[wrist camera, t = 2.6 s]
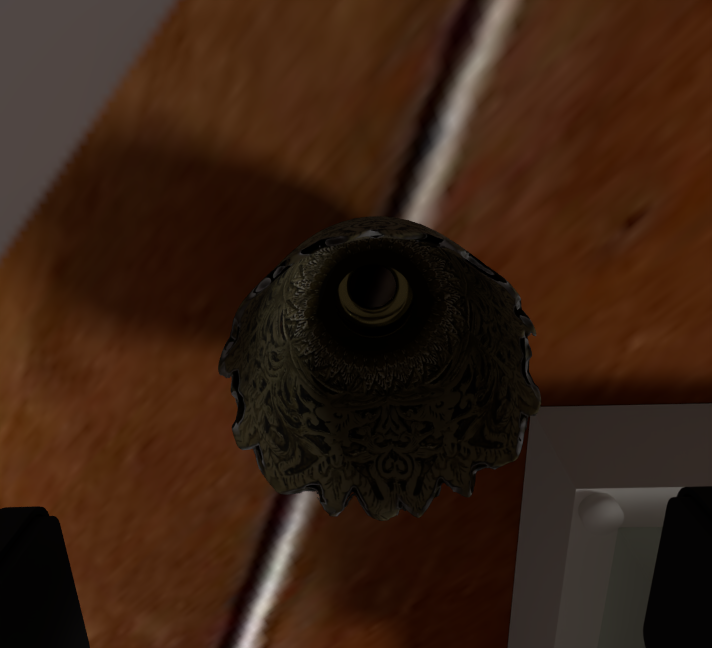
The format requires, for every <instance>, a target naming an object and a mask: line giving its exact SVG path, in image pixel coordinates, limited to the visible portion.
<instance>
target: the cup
mask: <svg viewBox="0 0 712 648" xmlns="http://www.w3.org/2000/svg"><path fill="white" fill-rule="evenodd" d="M371 264H377V265H381V266H383V267H385V268H387V269H388V270H389V271H390V272H391V273H392V274H393V276H394V278H395V281H396V292H395V294H394V297H393V298H392V299H391V301H390V302H389V303H387V304H386V305H384V306H382V307H379V308H366V307H363V306H361V305H360V304H358V303H357V302H356V301H355V300H354V298H353V297H352V295H351V292H350V281H351V278H352V276H353V275H354V273H355V272H356V271H357V270H358V269H360V268H361V267H363V266H366V265H371ZM530 333H532V334H533V336H536V331H535V328H534V326H533V324H532V322H531V320H530V318H529V317H528V316H527V315H526V313H525V312H524V311H523V310H522V308H521V298H520V296H519V294H518V293H517V292H516V291H515V289H514V288H513V287H512V286H511V284H510V283H509V282H508V281H506V280H505V279H504V278H503V277H502V276H501V275H499V274H498V273H496V272H495V271H494V270H492V269H491V268H489V267H488V266H486V265H485V264H484V263H482V262H481V261H480V260H478V259H477V258H476V257H474V256H473V255H472V254H470V253H469V252H468V251H466V250H465V249H463V248H462V247H461V246H459V245H458V244H456V243H455V242H453V241H452V240H450V239H448V238H447V237H445V236H443V235H442V234H440V233H438V232H437V231H434V230H432V229H430V228H428V227H426V226H423V225H421V224H418V223H415V222H412V221H409V220H404V219H399V218H394V217H382V216H376V217H362V218H355V219H351V220H347V221H344V222H340V223H338V224H335V225H333V226H330V227H328V228H326V229H324V230H322V231H320V232H318V233H316V234H315V235H313V236H312V237H310V238H309V239H307V240H306V241H304V242H303V243H302V244H300V245H299V246H298V247H297V248H296V249H295V250H293V251H292V252H291V253H290V254H289V255H288V256H287V257H286V258H285V259H284V260H282V261H281V262H280V263H279V264H278V265H277V267H276V268H275V269H274V270H273V271H271V272H270V273H269V274H268V275H267V276H266V277H265V278H264V279H263V280H262V281H261V282H260V283H259V284H258V285H257V286H256V287H255V288H254V289H253V290H252V291H251V292H250V294H249V295H248V296H247V297H246V298H245V299H244V301H243V302H242V303H241V305H240V306H239V308H238V310H237V312H236V315H235V317H234V320H233V325H232V331H231V334H230V338H229V339H228V341H227V342H226V344H225V346H224V349H223V351H222V354H221V357H220V360H219V366H218V371H219V374H220V375H223V376H225V377H226V378H227V377H228V378H230V376H231V377H232V383H231V393H232V395H233V396H234V397H235V398H236V403H237V406H238V411H237V416H236V420H235V422H234V424H233V425H232V431H233V434H234V438H235V441H236V444H237V446H238V447H239V448H240V449H242V450H247V449H252V448H253V450H254V453H255V455H256V460H257V464H258V466H259V469H260V470H261V472H262V474H263V475H264V477H265V478H266V480H267V481H268V482H269V483H270V485H271V486H272V487H273V488H274V489H275V491H277V492H278V493H280V494H296V493H301V492H303V491H316V492H317V491H318V492H317V494H318V493H319V496H320V500H319V501H320V503H321V504H322V506H323V508H324V510H325V511H326V512H328V513H329V515H330V516H338V515H339V514H340V512H341V511H343V510H344V508H345V507H346V506H347V505H348V502H349V501H350V500H351V498H352V496H354V495H356V497H357V499H358V501H359V503H360V504H361V506H362V508H363V509H364V510H365V512H366V513H367V515H369V516H370V517H372V518H374V519H377V520H380V521H384V520H389V519H390V518H391V517H394V516H396V515H398V513H399V510H400V509H403V510H404V511H406V510H407V511H408V512H410V513H411V514H412V515H413V516H415V517H417V518H419V517H421V516H422V515H423V514H424V512H425V511H426V510H427V509H428V507H429V505H430V504H431V502H432V500H433V498H435V497H437V496H439V494H440V491H441V485H442V483H445V484H446V485H447V486H449V487H450V488H451V489H452V490H453V492H457V493H459V494H461V495H462V496H464V497H470V496H471V495H472V493H473V489H474V485H475V475H476V472H477V471H479V470H481V469H483V468H492V469H497V468H499V467H501V466H503V465H505V464H507V463H510V462H513V461H515V460H516V459H517V458H518V456H519V454H520V452H521V449H522V444H523V438H524V432H525V430H526V428H527V421H528V417H530V416H536V414H537V413H538V411H539V408H540V405H541V396H540V391H539V388H538V386H536V385H535V383H534V382H533V379H532V377H531V375H530V373H529V359H530V358H531V357H532V352H531V348H530V346H529V344H528V338H527V336H529V335H530ZM352 492H354V494H352V495H351V496H350V494H351V493H352ZM349 496H350V497H349ZM348 497H349V498H348ZM317 498H318V497H317ZM347 498H348V500H347ZM318 499H319V498H318ZM346 500H347V501H346ZM345 502H346V503H345Z"/></svg>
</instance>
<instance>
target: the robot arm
mask: <svg viewBox="0 0 712 648" xmlns="http://www.w3.org/2000/svg"><path fill="white" fill-rule="evenodd" d="M643 639H644V643H645V647H646V648H712V486H697V487H684V488H681V489H680V491H679V492H678V494H677V497H672V498H670V499H669V501H668V503H667V507H666V512H665V517H664V522H663V527H662V532H661V538H660V543H659V548H658V553H657V558H656V563H655V568H654V573H653V579H652V584H651V589H650V594H649V599H648V604H647V609H646V614H645V620H644V625H643ZM0 648H90V646H89V641H88V637H87V633H86V629H85V624H84V620H83V616H82V612H81V608H80V604H79V600H78V596H77V592H76V588H75V583H74V579H73V575H72V571H71V567H70V563H69V559H68V555H67V551H66V547H65V542H64V538H63V534H62V530H61V526H60V523H59V520H58V519H57V518H56V517H55V516H49V514H48V511H47V510H46V509H45V508H44V507H8V508H2V509H0Z"/></svg>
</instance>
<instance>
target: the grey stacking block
mask: <svg viewBox="0 0 712 648" xmlns="http://www.w3.org/2000/svg"><path fill="white" fill-rule="evenodd" d="M697 486H712V403H708V404H657V405H607V406H556V407H540V408H539V411H538V413H537V414H536V416H530V425H529V435H528V445H527V455H526V465H525V476H524V486H523V496H522V506H521V516H520V526H519V537H518V547H517V557H516V567H515V577H514V587H513V598H512V608H511V618H510V628H509V638H508V648H646V647H645V643H644V639H643V625H644V620H645V614H646V609H647V604H648V599H649V594H650V589H651V584H652V579H653V573H654V568H655V563H656V558H657V553H658V548H659V543H660V538H661V532H662V527H663V522H664V517H665V512H666V507H667V503H668V501H669V499H670V498H672V497H677V494H678V492H679V491H680V489H681V488H684V487H697Z"/></svg>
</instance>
